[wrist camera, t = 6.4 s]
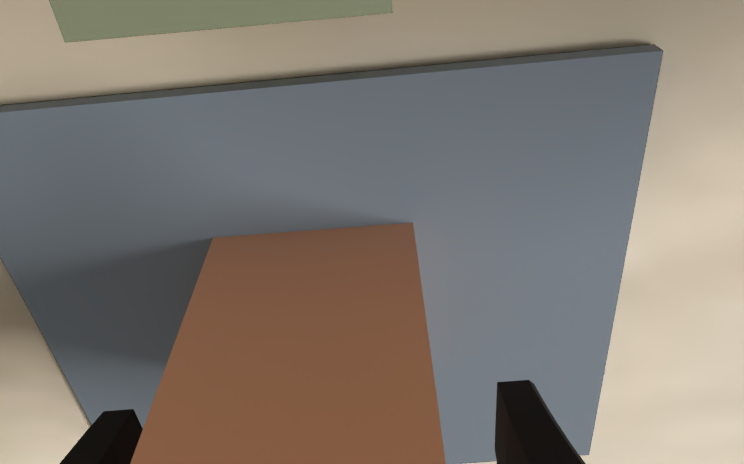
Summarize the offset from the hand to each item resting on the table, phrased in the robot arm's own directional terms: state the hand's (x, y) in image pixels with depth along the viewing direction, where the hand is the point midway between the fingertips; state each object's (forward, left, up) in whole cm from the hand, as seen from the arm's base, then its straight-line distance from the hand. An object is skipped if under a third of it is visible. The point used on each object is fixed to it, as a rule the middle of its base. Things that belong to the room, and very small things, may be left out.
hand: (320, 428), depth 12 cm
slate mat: (0, 0, -3) cm, 3 cm away
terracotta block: (0, 0, -3) cm, 3 cm away
